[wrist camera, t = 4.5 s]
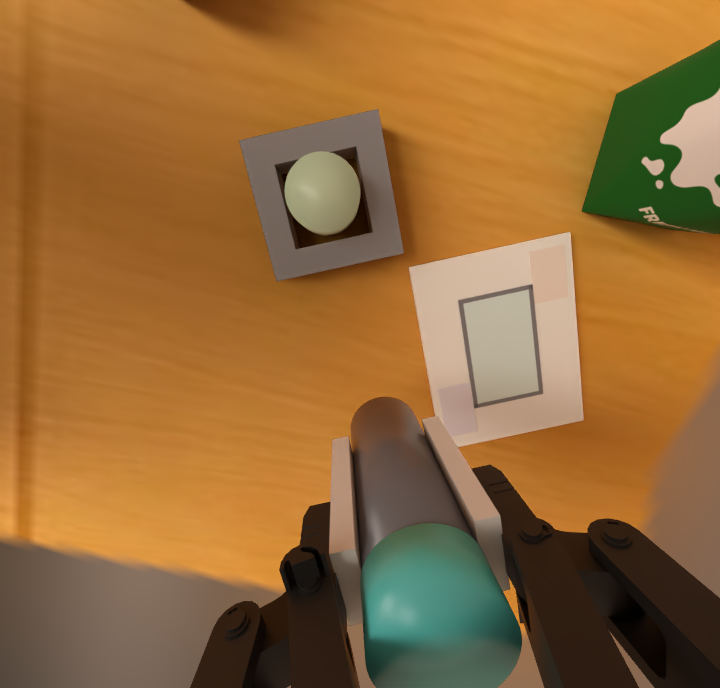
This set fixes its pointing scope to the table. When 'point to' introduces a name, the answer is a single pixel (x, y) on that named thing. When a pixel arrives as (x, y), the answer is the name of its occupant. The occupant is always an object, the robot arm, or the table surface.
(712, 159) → the milk carton
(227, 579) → the table surface
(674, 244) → the table surface
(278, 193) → the button housing
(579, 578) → the robot arm
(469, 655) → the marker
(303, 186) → the button cap
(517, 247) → the sheet
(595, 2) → the table surface
